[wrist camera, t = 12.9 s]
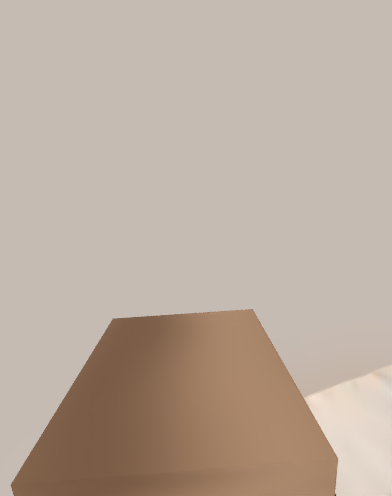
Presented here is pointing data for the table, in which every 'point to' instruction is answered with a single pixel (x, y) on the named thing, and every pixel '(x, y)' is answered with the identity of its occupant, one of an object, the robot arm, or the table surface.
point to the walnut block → (182, 417)
